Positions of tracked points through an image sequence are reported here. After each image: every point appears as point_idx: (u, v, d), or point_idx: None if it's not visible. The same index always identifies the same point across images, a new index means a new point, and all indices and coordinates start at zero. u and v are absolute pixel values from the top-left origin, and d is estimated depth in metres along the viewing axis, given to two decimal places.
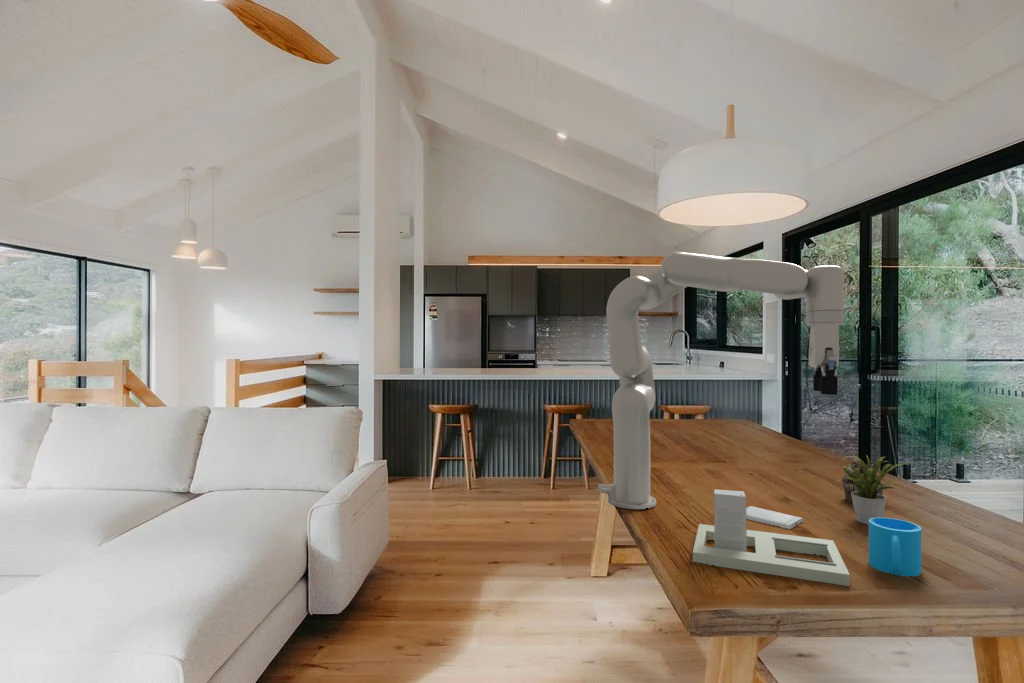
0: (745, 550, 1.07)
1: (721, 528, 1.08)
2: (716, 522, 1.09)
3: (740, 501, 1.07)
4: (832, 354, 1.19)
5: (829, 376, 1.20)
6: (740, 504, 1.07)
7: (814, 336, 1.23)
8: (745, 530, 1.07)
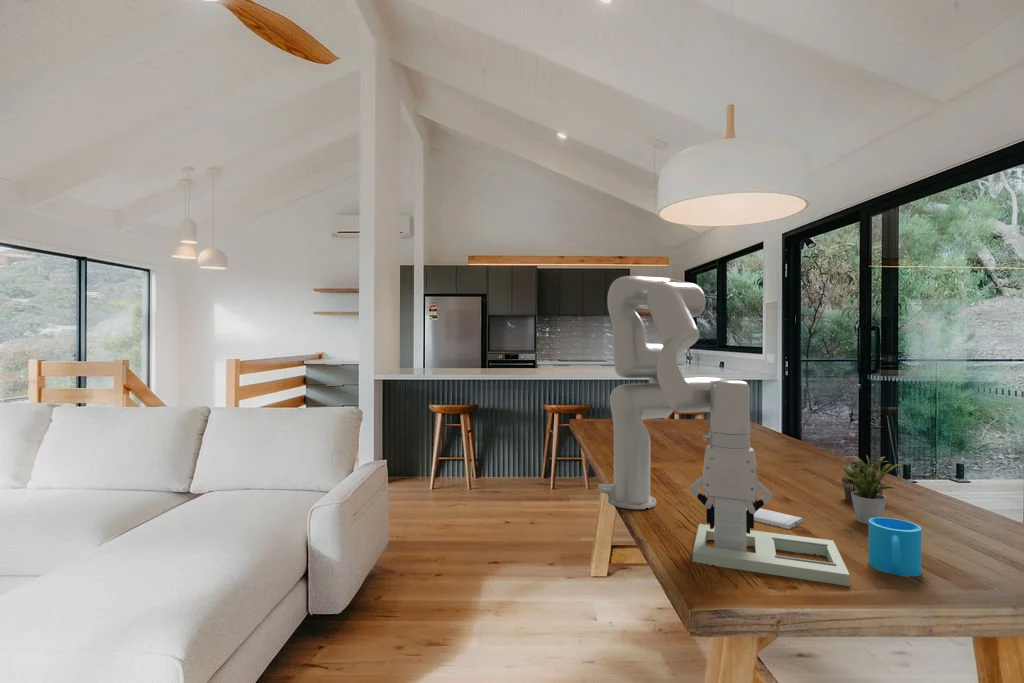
0: (745, 550, 1.07)
1: (721, 528, 1.08)
2: (716, 522, 1.09)
3: (740, 501, 1.07)
4: (766, 489, 1.07)
5: None
6: (740, 504, 1.07)
7: (748, 465, 1.06)
8: (745, 530, 1.07)
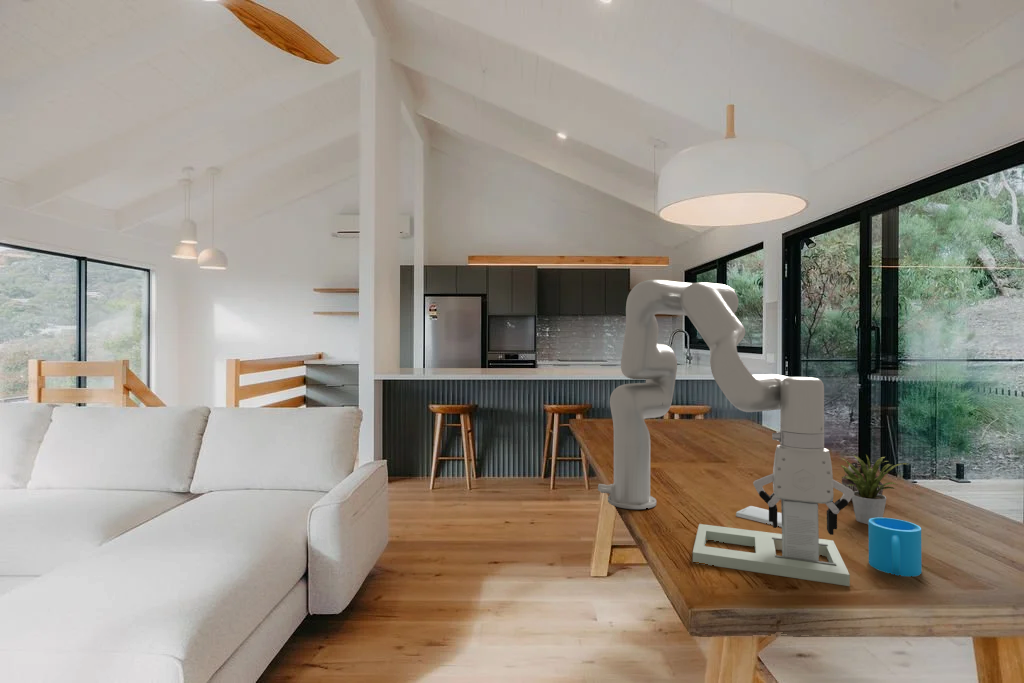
0: (817, 560, 1.02)
1: (791, 536, 1.04)
2: (785, 530, 1.04)
3: (811, 508, 1.03)
4: (845, 486, 1.02)
5: None
6: (812, 512, 1.02)
7: (824, 466, 1.01)
8: (817, 539, 1.02)
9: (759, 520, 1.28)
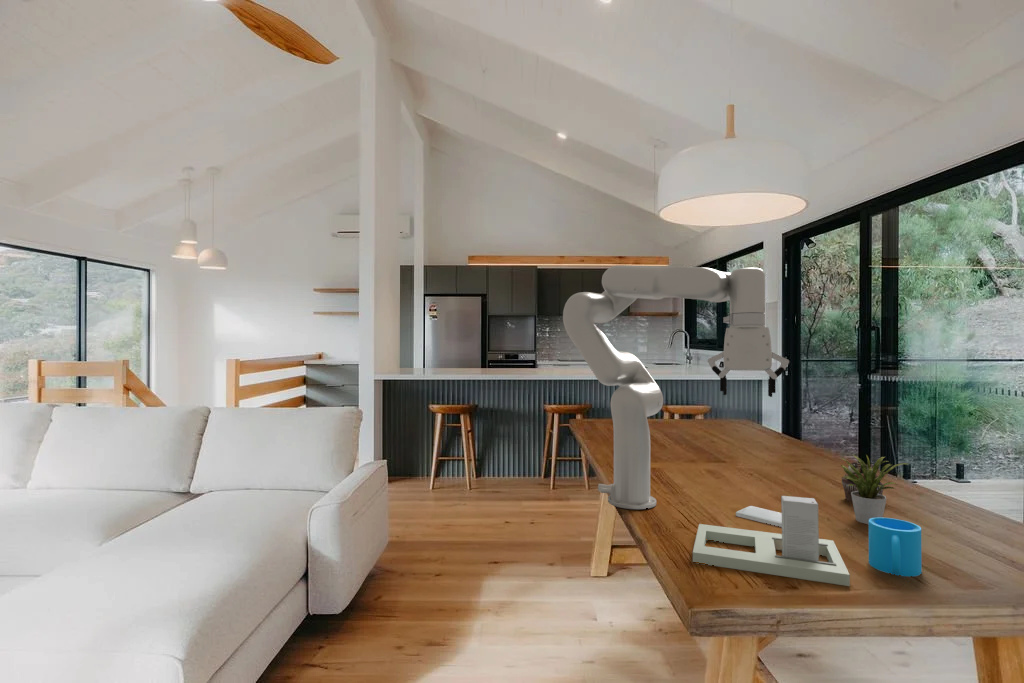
0: (817, 560, 1.02)
1: (791, 536, 1.04)
2: (785, 530, 1.04)
3: (811, 508, 1.02)
4: None
5: None
6: (812, 512, 1.02)
7: (764, 339, 1.22)
8: (817, 539, 1.02)
9: (759, 520, 1.28)
